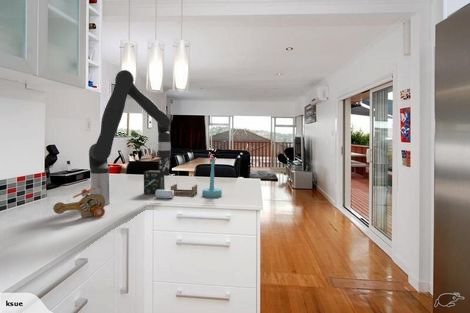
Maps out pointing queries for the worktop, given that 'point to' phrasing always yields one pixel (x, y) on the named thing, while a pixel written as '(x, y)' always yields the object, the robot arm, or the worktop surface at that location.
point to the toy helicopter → (84, 205)
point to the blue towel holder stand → (212, 185)
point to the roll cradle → (184, 191)
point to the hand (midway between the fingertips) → (164, 176)
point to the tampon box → (153, 182)
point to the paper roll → (164, 194)
